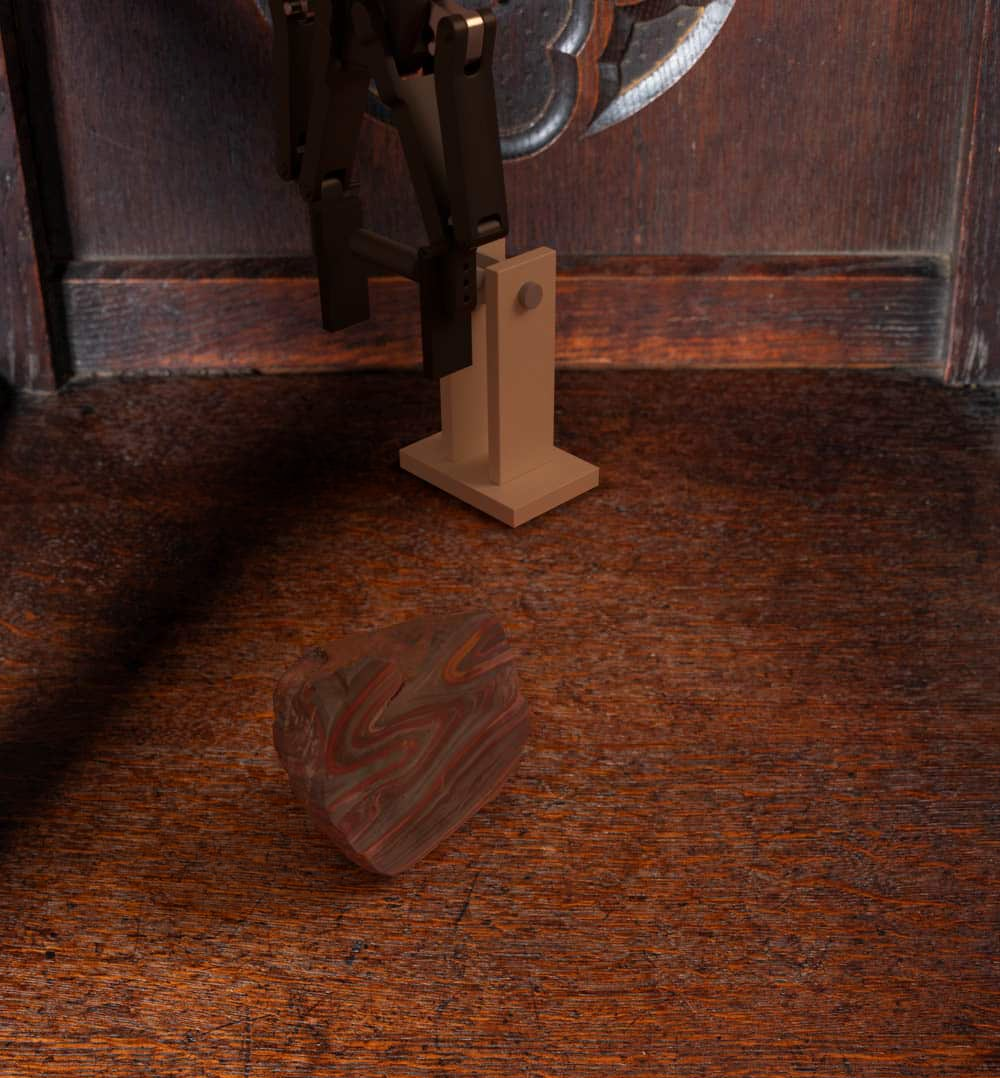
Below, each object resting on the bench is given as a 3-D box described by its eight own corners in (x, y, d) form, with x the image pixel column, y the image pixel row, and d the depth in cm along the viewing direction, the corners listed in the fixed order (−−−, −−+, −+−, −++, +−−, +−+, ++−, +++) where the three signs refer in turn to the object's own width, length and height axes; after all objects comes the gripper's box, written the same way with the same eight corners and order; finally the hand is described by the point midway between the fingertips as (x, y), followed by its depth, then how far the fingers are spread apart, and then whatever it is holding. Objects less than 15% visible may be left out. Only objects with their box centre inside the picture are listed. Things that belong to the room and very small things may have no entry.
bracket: (513, 528, 82) (512, 292, 73) (400, 467, 87) (385, 241, 78) (598, 485, 85) (607, 255, 77) (484, 429, 91) (479, 209, 82)
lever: (405, 290, 71) (419, 241, 70) (342, 263, 74) (355, 216, 73) (537, 319, 79) (551, 276, 78) (475, 294, 82) (488, 251, 81)
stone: (360, 932, 58) (339, 740, 51) (213, 845, 62) (176, 657, 55) (543, 768, 65) (545, 584, 59) (402, 701, 69) (389, 521, 63)
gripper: (600, -147, 57) (584, 385, 72) (290, -193, 69) (331, 274, 84) (461, -123, 53) (474, 435, 68) (157, -176, 65) (225, 311, 80)
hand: (395, 346), depth 76 cm, fingers open, 8 cm apart
